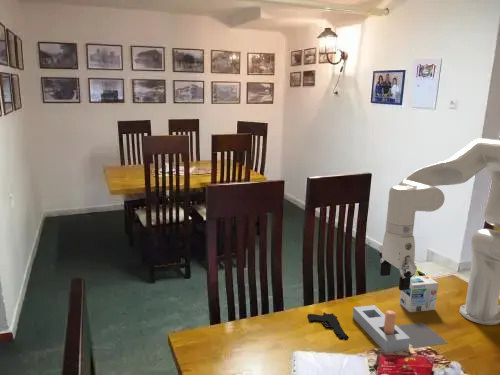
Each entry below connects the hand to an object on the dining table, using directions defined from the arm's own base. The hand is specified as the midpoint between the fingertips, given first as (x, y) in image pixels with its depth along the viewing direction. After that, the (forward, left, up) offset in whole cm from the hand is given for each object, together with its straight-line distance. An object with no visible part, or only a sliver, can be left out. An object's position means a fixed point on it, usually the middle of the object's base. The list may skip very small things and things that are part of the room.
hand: (394, 282), depth 118 cm
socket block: (0, -5, -20) cm, 21 cm away
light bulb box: (-23, -17, -20) cm, 35 cm away
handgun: (+15, -12, -21) cm, 28 cm away
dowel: (0, 0, -20) cm, 20 cm away
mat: (-12, -1, -20) cm, 23 cm away
